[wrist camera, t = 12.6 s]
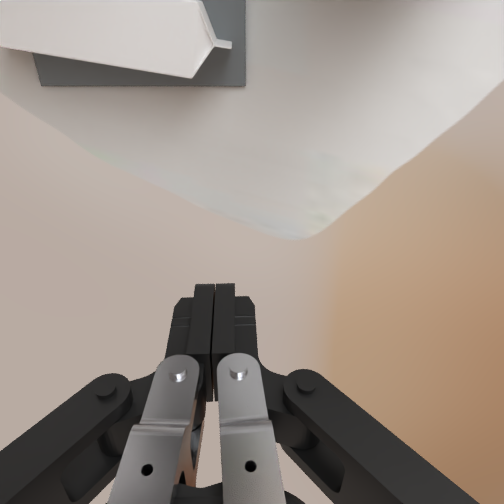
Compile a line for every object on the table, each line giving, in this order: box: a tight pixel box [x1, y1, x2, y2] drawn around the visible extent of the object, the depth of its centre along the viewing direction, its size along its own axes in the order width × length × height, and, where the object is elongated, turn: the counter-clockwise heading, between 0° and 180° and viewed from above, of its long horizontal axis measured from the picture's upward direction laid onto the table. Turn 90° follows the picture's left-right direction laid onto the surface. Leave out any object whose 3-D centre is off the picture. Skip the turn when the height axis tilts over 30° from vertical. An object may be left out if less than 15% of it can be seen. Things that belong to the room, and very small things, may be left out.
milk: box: [0, 0, 232, 79], centre depth 36 cm, size 6×6×22 cm
